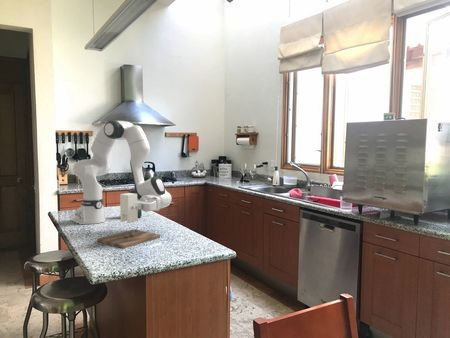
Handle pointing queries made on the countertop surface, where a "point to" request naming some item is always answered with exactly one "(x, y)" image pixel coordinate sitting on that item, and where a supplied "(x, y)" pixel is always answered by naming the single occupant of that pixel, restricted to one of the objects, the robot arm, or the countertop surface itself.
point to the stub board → (128, 238)
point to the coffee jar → (138, 199)
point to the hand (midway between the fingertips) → (127, 206)
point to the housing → (128, 207)
